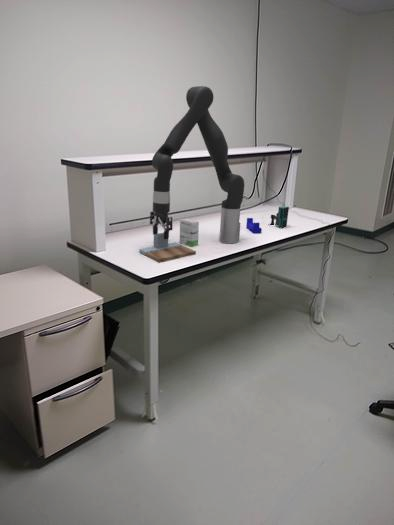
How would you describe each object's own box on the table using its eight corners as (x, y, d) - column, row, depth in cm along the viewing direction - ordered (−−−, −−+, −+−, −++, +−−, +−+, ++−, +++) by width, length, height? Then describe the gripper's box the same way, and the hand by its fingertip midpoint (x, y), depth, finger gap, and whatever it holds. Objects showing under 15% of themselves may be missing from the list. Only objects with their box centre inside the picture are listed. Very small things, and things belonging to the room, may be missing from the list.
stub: (175, 245, 191) (175, 229, 189) (181, 247, 188) (182, 232, 185) (139, 252, 179) (139, 236, 177) (145, 255, 176) (145, 238, 173)
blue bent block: (261, 233, 218) (262, 223, 216) (253, 234, 217) (254, 223, 215) (253, 228, 229) (254, 217, 227) (246, 228, 228) (247, 217, 226)
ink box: (198, 245, 194) (199, 221, 190) (191, 247, 190) (192, 222, 186) (186, 241, 199) (186, 217, 195) (178, 242, 196) (179, 219, 192)
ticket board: (182, 248, 187) (182, 245, 187) (195, 254, 180) (196, 250, 180) (146, 256, 175) (146, 252, 175) (159, 262, 168) (159, 258, 168)
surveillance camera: (274, 203, 236) (289, 206, 229) (272, 223, 240) (286, 227, 234) (269, 204, 232) (284, 208, 226) (267, 225, 236) (281, 228, 230)
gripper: (178, 203, 173) (176, 239, 178) (159, 197, 183) (158, 232, 189) (163, 204, 168) (162, 241, 174) (145, 198, 178) (144, 234, 184)
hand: (160, 236), depth 181 cm, fingers open, 8 cm apart
